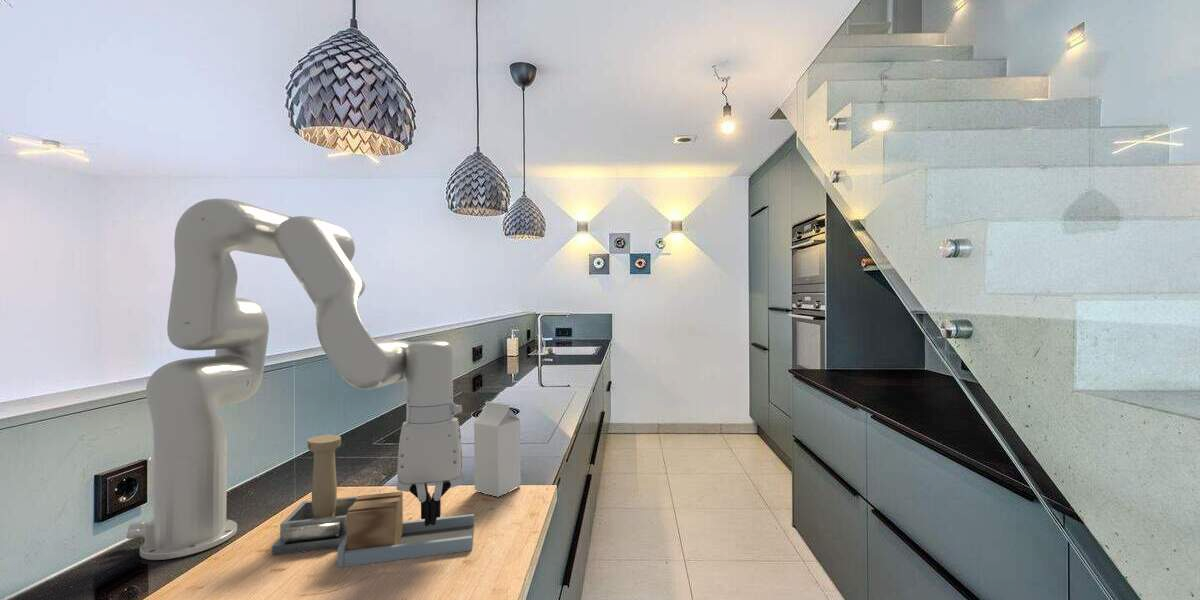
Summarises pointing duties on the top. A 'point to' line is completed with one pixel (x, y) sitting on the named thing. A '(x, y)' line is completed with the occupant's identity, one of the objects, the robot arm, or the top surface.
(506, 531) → the top surface
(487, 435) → the milk carton
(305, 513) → the gray square tray
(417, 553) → the bay
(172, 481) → the robot arm
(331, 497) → the handle
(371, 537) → the crate
